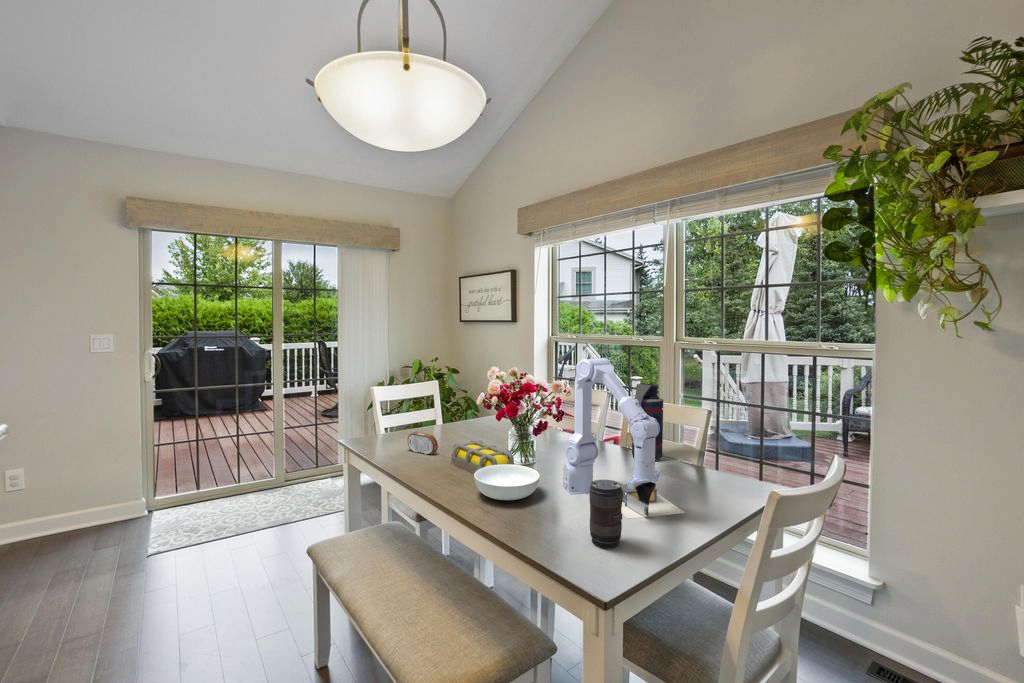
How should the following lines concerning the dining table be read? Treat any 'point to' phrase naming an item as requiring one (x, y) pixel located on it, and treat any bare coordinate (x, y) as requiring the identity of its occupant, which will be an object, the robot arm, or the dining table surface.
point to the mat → (653, 509)
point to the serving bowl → (507, 481)
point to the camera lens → (605, 513)
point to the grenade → (651, 411)
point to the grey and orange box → (634, 493)
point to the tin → (422, 442)
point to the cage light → (479, 456)
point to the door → (636, 505)
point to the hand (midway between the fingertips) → (643, 507)
